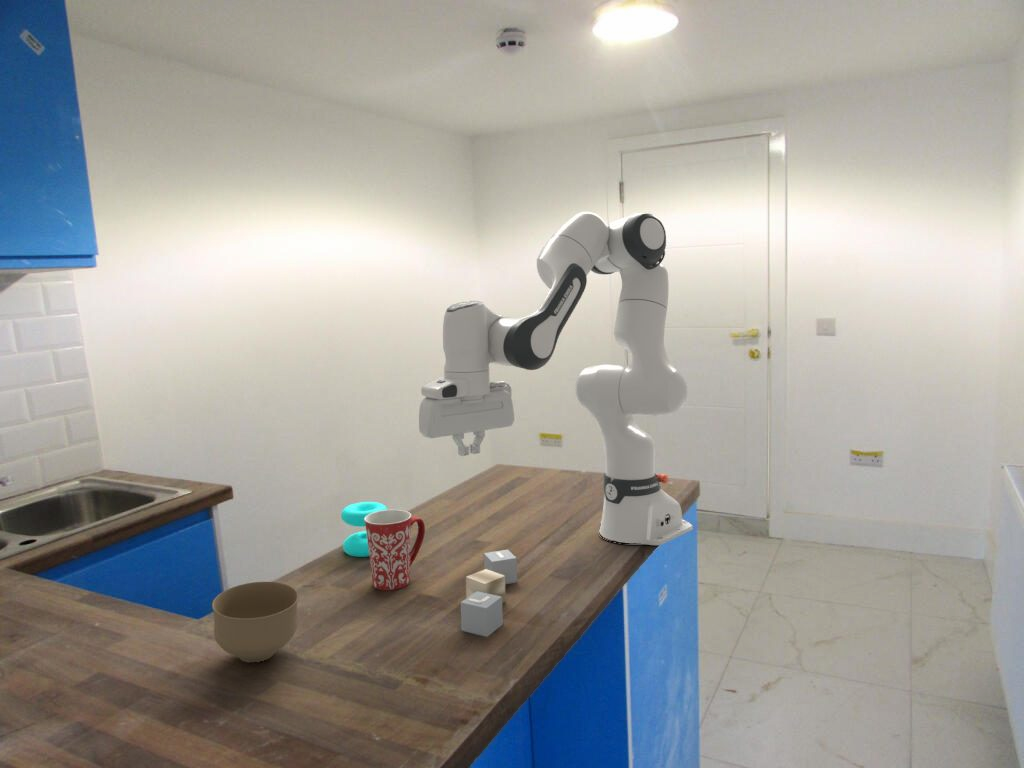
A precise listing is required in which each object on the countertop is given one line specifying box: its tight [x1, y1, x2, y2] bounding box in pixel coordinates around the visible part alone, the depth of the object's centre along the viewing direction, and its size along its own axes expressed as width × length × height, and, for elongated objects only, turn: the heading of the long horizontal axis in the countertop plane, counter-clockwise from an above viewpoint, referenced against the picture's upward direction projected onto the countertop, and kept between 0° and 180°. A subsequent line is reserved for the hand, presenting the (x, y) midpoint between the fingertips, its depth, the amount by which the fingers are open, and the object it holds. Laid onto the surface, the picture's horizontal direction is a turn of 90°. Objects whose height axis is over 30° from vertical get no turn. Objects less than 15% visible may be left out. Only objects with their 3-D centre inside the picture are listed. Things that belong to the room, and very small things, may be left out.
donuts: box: [340, 501, 388, 558], centre depth 159 cm, size 10×10×10 cm
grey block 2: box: [483, 549, 518, 585], centre depth 141 cm, size 5×5×5 cm
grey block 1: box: [460, 591, 504, 638], centre depth 121 cm, size 5×5×5 cm
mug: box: [364, 509, 426, 591], centre depth 141 cm, size 13×9×14 cm
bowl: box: [211, 581, 300, 663], centre depth 112 cm, size 13×13×10 cm
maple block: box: [465, 569, 506, 604], centre depth 131 cm, size 5×5×5 cm
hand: (469, 454), depth 143 cm, fingers closed
